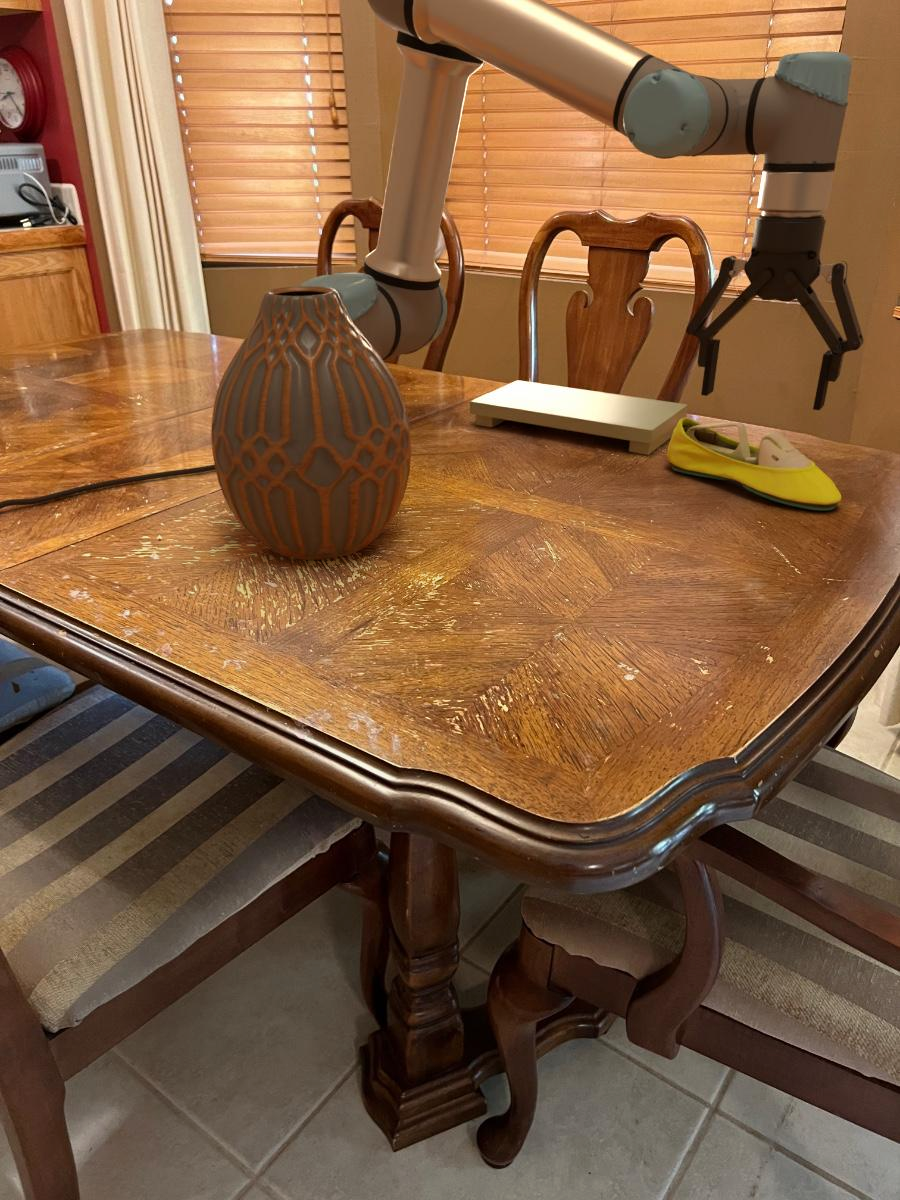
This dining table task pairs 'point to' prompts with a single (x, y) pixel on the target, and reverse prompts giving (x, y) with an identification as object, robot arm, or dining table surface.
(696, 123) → the robot arm
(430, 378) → the dining table surface
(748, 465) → the ballet flat
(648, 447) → the low footed display riser
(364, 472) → the vase
